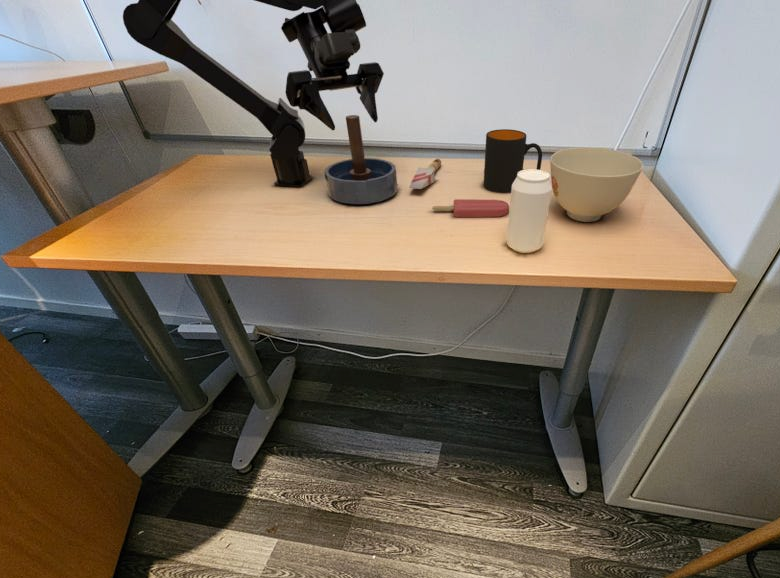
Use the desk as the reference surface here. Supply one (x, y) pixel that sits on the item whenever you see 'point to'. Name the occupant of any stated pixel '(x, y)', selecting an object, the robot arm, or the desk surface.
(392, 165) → the blue grey round dish
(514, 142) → the mug
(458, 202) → the popsicle
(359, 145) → the pestle
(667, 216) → the desk surface
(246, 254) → the desk surface
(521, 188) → the beverage can
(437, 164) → the paintbrush
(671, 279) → the desk surface
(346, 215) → the desk surface
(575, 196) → the bowl
